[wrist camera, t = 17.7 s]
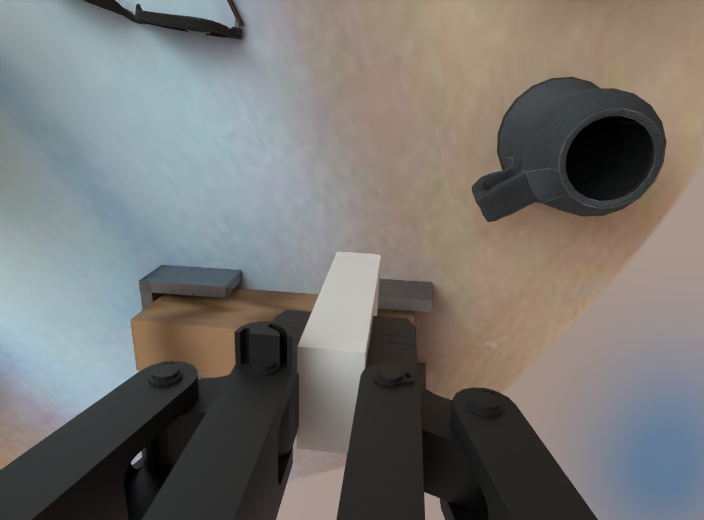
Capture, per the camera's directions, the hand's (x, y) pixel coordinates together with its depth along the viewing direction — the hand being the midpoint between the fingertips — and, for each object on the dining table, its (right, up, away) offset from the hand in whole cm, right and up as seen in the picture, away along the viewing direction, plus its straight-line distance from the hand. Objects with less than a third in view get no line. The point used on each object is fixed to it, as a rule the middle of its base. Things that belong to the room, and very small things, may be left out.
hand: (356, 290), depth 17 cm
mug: (+14, +10, +22) cm, 28 cm away
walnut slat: (-6, -4, +29) cm, 30 cm away
